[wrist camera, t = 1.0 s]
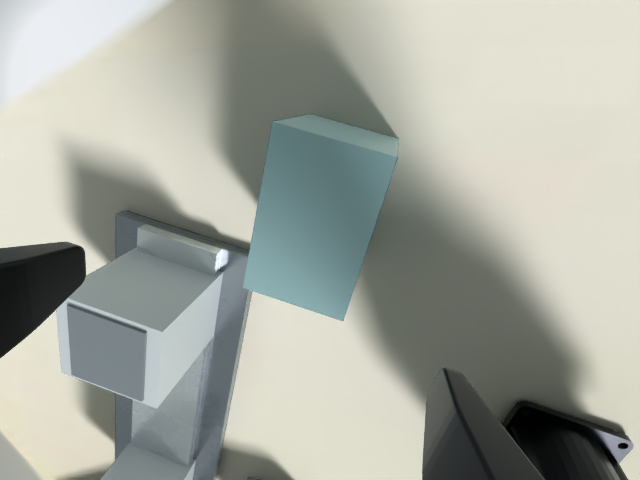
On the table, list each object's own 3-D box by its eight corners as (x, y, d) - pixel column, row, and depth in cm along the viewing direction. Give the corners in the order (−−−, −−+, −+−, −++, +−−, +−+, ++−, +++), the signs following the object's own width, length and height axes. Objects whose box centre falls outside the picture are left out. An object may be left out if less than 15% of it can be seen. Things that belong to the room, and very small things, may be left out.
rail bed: (259, 253, 21) (249, 264, 20) (211, 503, 32) (202, 522, 31) (124, 210, 22) (106, 217, 21) (121, 467, 33) (109, 483, 31)
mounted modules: (223, 272, 21) (160, 334, 16) (190, 496, 31) (143, 584, 25) (141, 244, 22) (51, 295, 16) (133, 473, 31) (74, 554, 26)
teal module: (398, 138, 17) (397, 157, 12) (358, 261, 20) (343, 321, 15) (311, 114, 18) (272, 121, 12) (284, 237, 21) (242, 287, 15)
